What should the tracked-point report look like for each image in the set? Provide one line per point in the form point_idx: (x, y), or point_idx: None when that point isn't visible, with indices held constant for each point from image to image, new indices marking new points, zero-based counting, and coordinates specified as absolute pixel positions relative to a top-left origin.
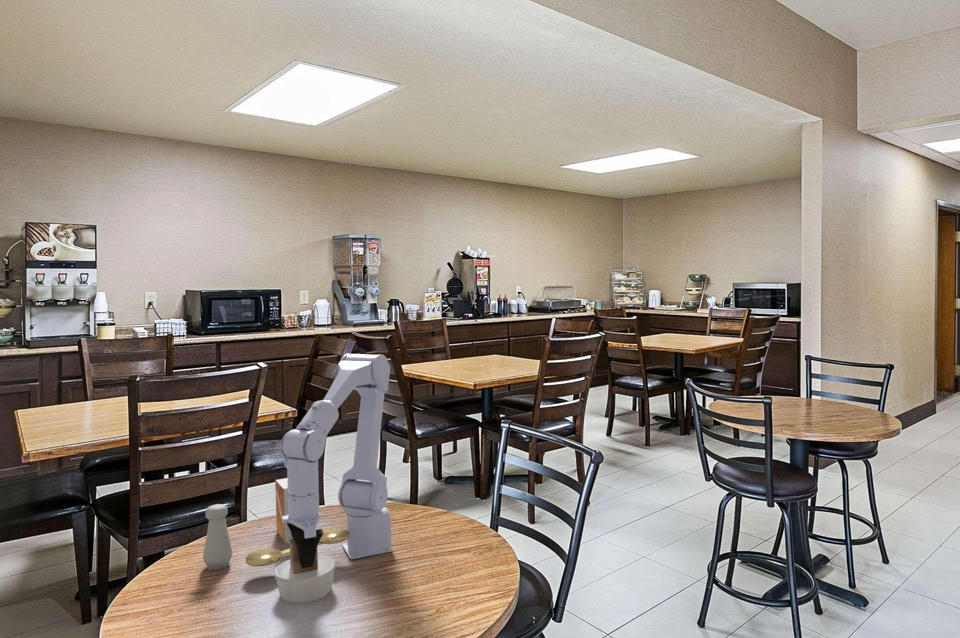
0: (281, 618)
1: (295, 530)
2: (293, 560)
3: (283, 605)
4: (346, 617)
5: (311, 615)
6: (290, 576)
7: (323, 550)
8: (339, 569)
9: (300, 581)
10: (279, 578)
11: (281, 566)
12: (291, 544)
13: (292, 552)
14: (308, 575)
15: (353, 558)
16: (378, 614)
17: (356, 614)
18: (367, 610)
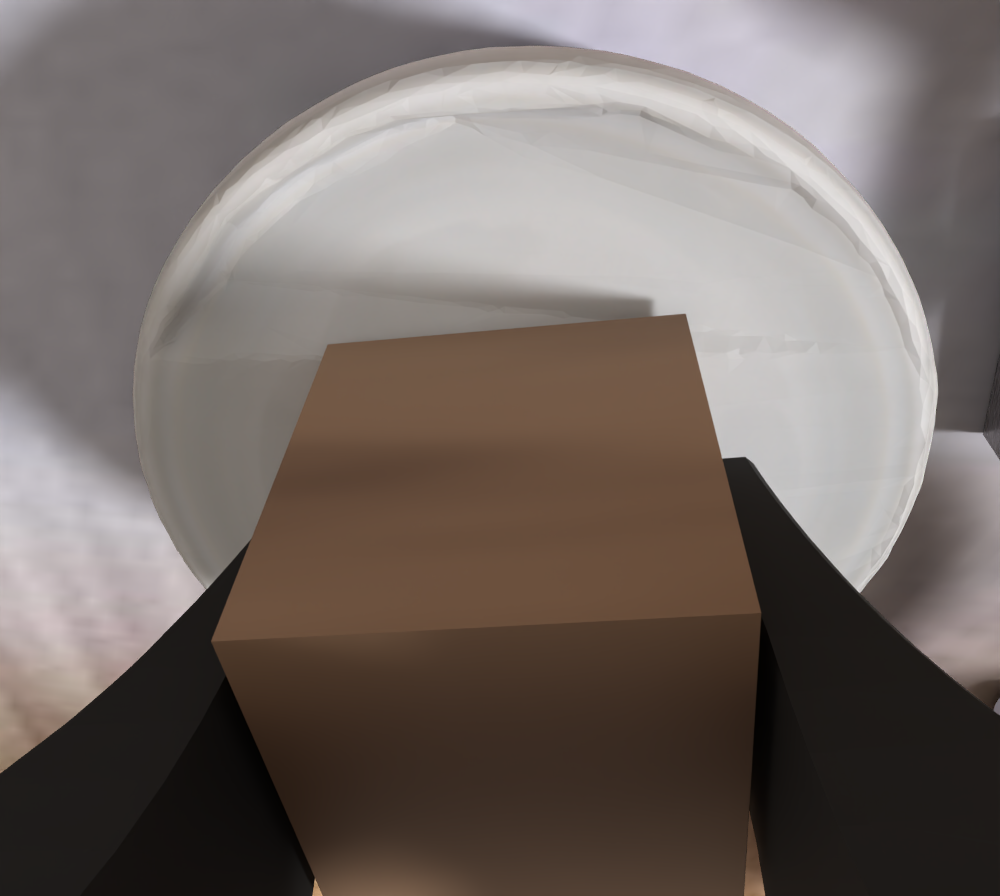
0: (7, 56)
1: (815, 875)
2: (281, 473)
3: (298, 81)
4: (13, 560)
5: (56, 338)
6: (369, 285)
7: None
8: (875, 599)
9: (134, 405)
10: (277, 139)
11: (729, 173)
12: (437, 626)
13: (314, 547)
14: (248, 503)
15: (996, 711)
16: (47, 713)
17: (54, 616)
18: (106, 673)
